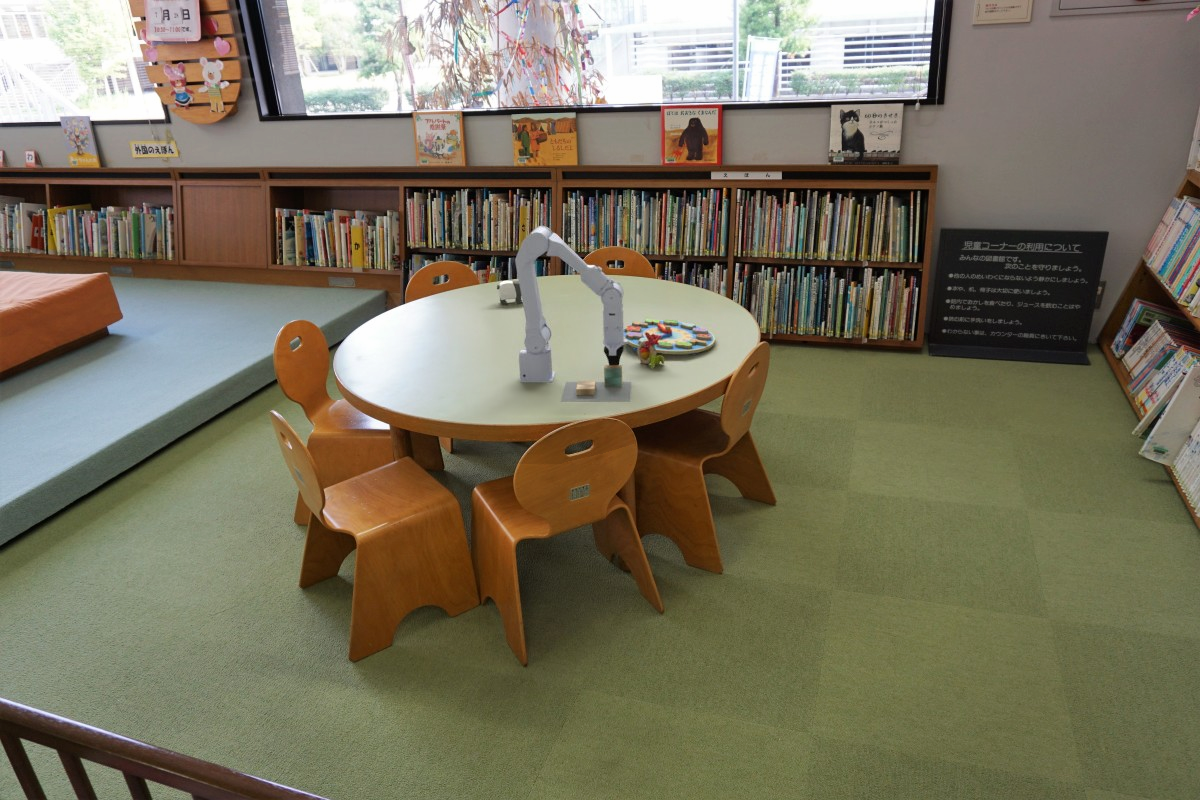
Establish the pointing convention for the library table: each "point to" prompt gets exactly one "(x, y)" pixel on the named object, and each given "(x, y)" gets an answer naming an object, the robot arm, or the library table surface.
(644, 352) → the bird rattle
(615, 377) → the right oak tile
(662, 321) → the shape sorting clock
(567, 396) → the felt mat
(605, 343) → the robot arm
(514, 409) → the library table surface
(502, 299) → the giant panda
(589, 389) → the left oak tile
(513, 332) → the library table surface
